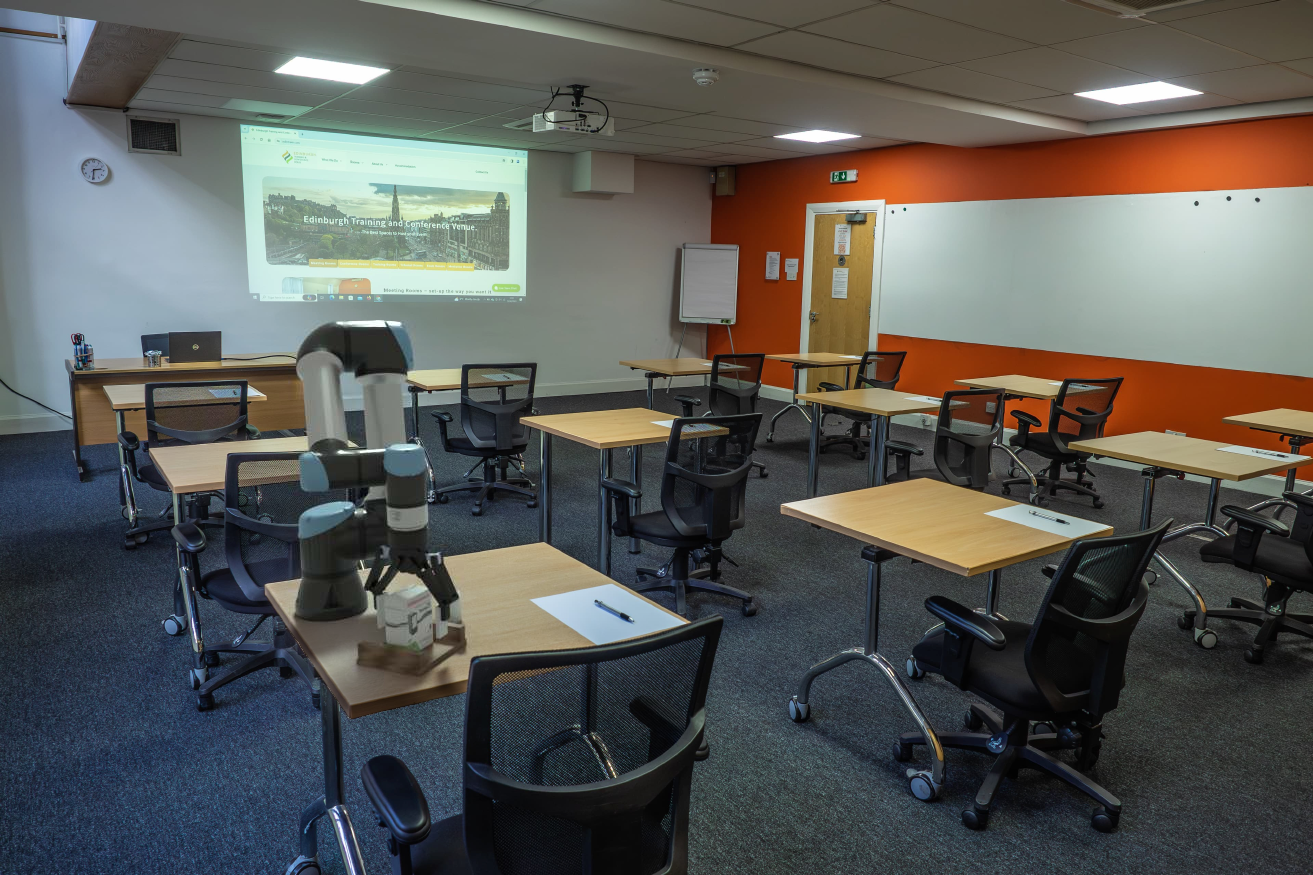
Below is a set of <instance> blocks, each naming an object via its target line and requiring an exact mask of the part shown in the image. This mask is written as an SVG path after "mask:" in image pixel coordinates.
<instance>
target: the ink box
mask: <svg viewBox="0 0 1313 875" xmlns="http://www.w3.org/2000/svg"><path fill="white" fill-rule="evenodd" d="M432 602H433V601H432V594H431V592H430V591H429V590H428V588H427V587H426V586H425V585H418V584H414V583H413V584H409V585H407V586H404V587H402V588H400V589H398V590H396V591H393V592H392V593H389V594H388V596H386V598H384V604H385V623H386V626H385V638H386V641H385V642H387V645H390V646H395V647H401V648H406V649H412V650H417V651H420V650H422V649H423V648H425V647H427V646H428V645H430V644H431V643H433V623H432V620H433V603H432Z"/></svg>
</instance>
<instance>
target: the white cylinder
mask: <svg viewBox="0 0 1313 875" xmlns="http://www.w3.org/2000/svg"><path fill="white" fill-rule="evenodd" d="M456 591H457V593H458V595H459V599H458V600H456V601H455V602H453V603H451V604H450V619H448V620H447V622H449V623H455V624H459V623H460V622H461V621H462V618H463V617H462V591H460V590H458V589H456ZM437 604H438V602H437V601H436V605H437Z"/></svg>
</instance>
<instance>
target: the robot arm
mask: <svg viewBox="0 0 1313 875" xmlns="http://www.w3.org/2000/svg"><path fill="white" fill-rule="evenodd" d="M413 352H414V351H413V346H412V342H411V339H410V335H409V332H408V329H407V327H406V326H405V325H404V324H403V322H400V321H390V320H385V319H382V320H361V321H360V320H357V321H356V320H355V321H353V320H352V321H350V320H349V321H343V320H342V321H341V320H338V321H336V320H335V321H330V322H327V323H324V324H322V325H320V326H318V327H317V328H315V329H314V330H313V331H311V332H310V333H309V335H308V336H306V337H305V339H304V340H303V342H302V343H301V344H300V347H299V349H298V351H297V355H296V360H295V369H296V374H297V376H298V378H299V380H301V381H302V392H303V402H304V414H305V425H306V438H307V446H308V447H307V449H308V452H304V453H301V454H299V456H298V463H299V464H298V467H299V480H300V487H301V489H302V490H303V491H304V492H329V491H337V490H338V491H339V490H347V489H348V490H349V489H358V488H359V489H360V488H362V489H363V488H365V489H366V488H369V493H368V494H367V495H366V496H365V498H364V499H363V507H360V508H359V507H358V508H356V505H355V503H353V502H351V501H334V502H328V503H323V504H319V505H316V506H313V507H312V508H309V509H307V510H306V511H304V512H303V513H302V514H301V515H300V516H299V519H298V534H297V537H298V538H299V550H300V567H301V580H300V584H299V587H298V591H297V597H296V599H295V603H294V606H295V607H294V608H295V614H296V617H299V618H301V619H303V620H308V621H318V622H319V621H322V622H323V621H334V620H340V619H344V618H348V617H349V618H350V617H351V616H355V615H357V614H359V613H361V612H363V611H364V610H365V609H367V607H368V605H369V600H368V598H369V597H368V595H369V594H368V592H370V593H371V594H372V596H373V609H374V610H375V611H376V617H377V618H376V620H377V623H376V624H377V628H378V629H382V628H384V627H386V623H385V604H384V598H386V596H388V595H389V592H388V591H387V587H388V586H389V585H390V583H391V582H392V581H393V580H394V578H396V576H397V575H398V573H401V574H406V573H407V574H409V575H412V576H413V575H415V576H416V577H417V578H418V579H420V580H421V581H422V583H423V584H424V586H425V587H427V588H428V590H429V591H430V592H431V596H433V598H434V599H435V601H436V604H435V605H434V610H435V612H434V613H435V614H434V616H435V617H434V618H435V619H434V620H436V638H439V639H440V638H441V637H443V636H444V635H446V634H447V633H448V629H447V620H448V619H450V604H451V603H453V602H455V601H456V600H458V599H459V595H458V593H457V591H456V590H457V588H456V586H455V585H454V582H453V580H452V578H451V575H450V573H449V571H448V569H447V567H446V564H445V560H444V554H443V552H441V551H438V552H437V553H430V552H429V549H428V547H429V543H430V539H429V538H430V536H429V534H430V532H429V526H428V525H427V524H428V523H429V512H428V510H429V508H428V507H429V506H428V497H427V496H428V494H427V493H428V492H427V467H428V466H427V465H428V463H427V460H426V452H425V448H424V446H422V445H421V444H420V445H419V444H415V443H407V437H406V425H405V413H404V412H405V410H404V400H403V389H402V388H403V384H405V382H406V381H407V380H408V378H409V376H408V373H409V372H411V371H413V369H414V365H415V363H414V354H413ZM344 373H345V374H348V373H350V374H351V373H352V374H354V381H355V383H357V384H358V385H359V386H360V387H361V388H362V398H363V409H364V410H363V411H364V412H363V413H364V426H365V438H366V448H365V449H350V448H349V447H350V446H349V440H348V431H347V424H346V416H345V407H344V406H345V405H344V400H343V399H344V398H343V392H342V384H341V383H342V382H341V378H342V376H343V374H344ZM389 558H390V560H391V561H392V562H391V564H390V565H388V568H386V569H387V570H386V571H385V573H384V574H383V575H382V573H383V571H384V569H385V566H386V564H387V561H388V560H389ZM368 560H374V561H373V563H372V565H371V568H370V570H369V573H368V576H367V577H366V581H365V583H364V585H363V582H362V581H363V580H362V579H361V576H360V574H359V567H358V566H359V565H358V562H360V561H368ZM423 569H424V570H423ZM437 602H438V604H437Z"/></svg>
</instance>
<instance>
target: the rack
mask: <svg viewBox="0 0 1313 875" xmlns="http://www.w3.org/2000/svg"><path fill="white" fill-rule="evenodd" d="M432 623H433V643H431V644H430V645H428V646H427V647H425V648H423V649H422V650H420V651H417V650H412V649H406V648H401V647H395V646H390V645H387V642H386V641H384V642H383V643H378V642H373V641H368V640H361V641H359V642H357V654H358V656H357V658H356V665H359V666H363V667H370V668H374V669H379V670H385V671H389V672H394V673H400V674H403V675H404V674H405V675H409V676H415V677H420V676H422V675H423V674H424V673H426V672H427V671H429V670H431V669H432V668H434V666H436V665H437V664H439V663H441V661H443V660H444V659H446V658H447V657H448V656H450V655H452V654H453V653H454V652H455V651H457V650H459V649H460V648H461V647H464V645H466V644H467V643H468V642H467V641H468V640H467V637H466V628H465V624H460V623H449V622H447V629H448V633H447V634H446V635H444V636H443V637H441V638H440V639H439V638H436V619H432Z"/></svg>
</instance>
